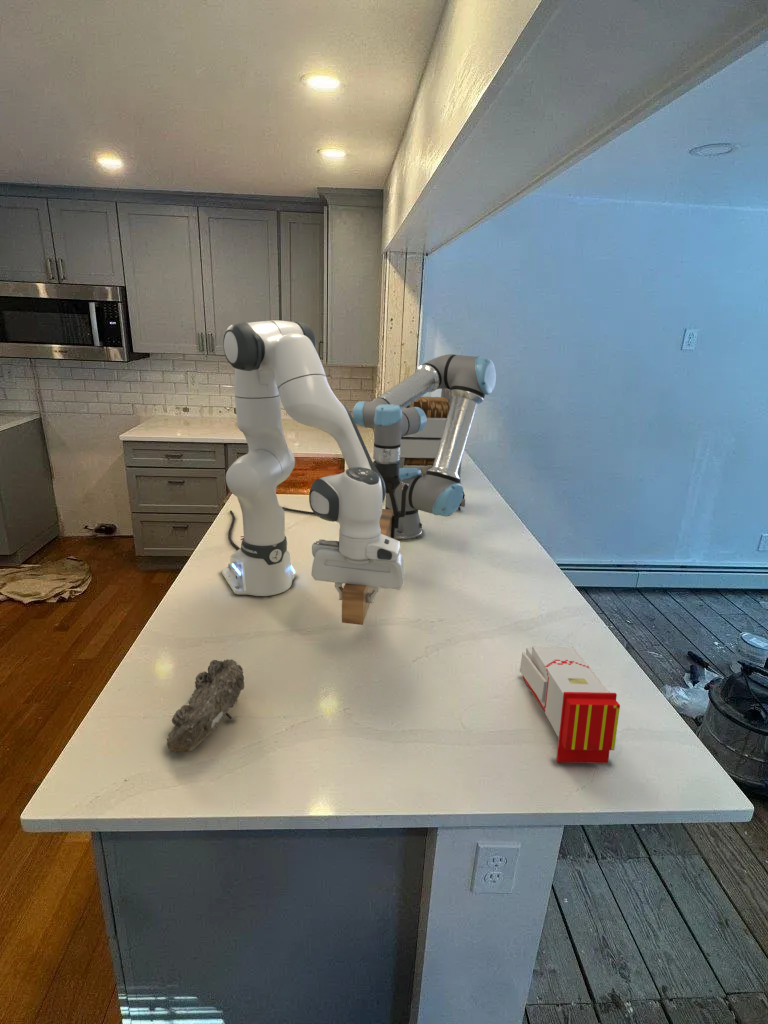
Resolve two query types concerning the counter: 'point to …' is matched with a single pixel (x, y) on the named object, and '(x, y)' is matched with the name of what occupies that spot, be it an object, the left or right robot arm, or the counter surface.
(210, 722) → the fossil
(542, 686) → the toy
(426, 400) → the transformer
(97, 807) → the counter surface
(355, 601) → the beam
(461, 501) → the figurine character
